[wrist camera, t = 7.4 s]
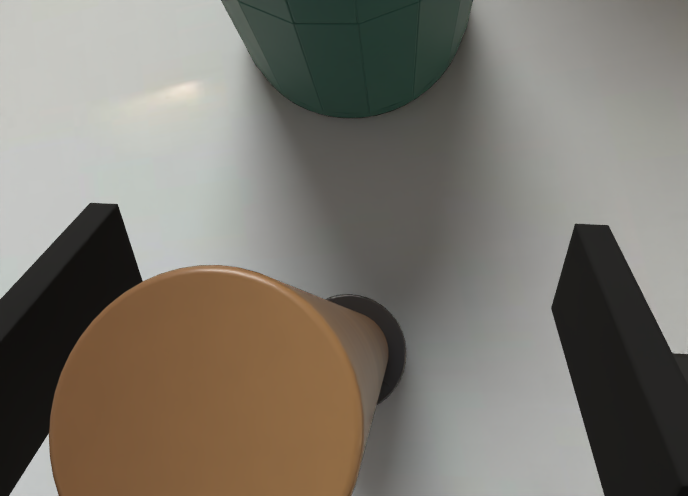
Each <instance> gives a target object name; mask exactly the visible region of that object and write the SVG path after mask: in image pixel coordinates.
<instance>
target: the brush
mask: <svg viewBox="0 0 688 496" xmlns="http://www.w3.org/2000/svg"><path fill="white" fill-rule="evenodd" d="M405 363H406V345H405V340H404V336H403V333H402V331H401V328H400V326H399V324H398V323H397V321H396V319H395V318H394V317H393V316H392V314H391V313H390V312H389V311H388V310H387V309H386V308H384V307H383V306H382V305H381V304H379V303H377V302H376V301H374V300H372V299H369V298H367V297H363V296H360V295H352V294H343V295H336V296H333V297H329V298H327V299H323V298H320V297H318V296H315V295H313V294H310V293H308V292H305V291H303V290H300V289H298V288H295V287H293V286H290V285H288V284H285V283H283V282H280V281H278V280H275V279H273V278H270V277H268V276H265V275H263V274H260V273H257V272H254V271H250V270H246V269H242V268H238V267H230V266H222V265H199V266H192V267H185V268H179V269H175V270H172V271H168V272H165V273H161V274H159V275H157V276H154V277H152V278H150V279H147V280H145V281H143V282H141V283H139V284H138V285H136V286H134V287H133V288H131V289H129V290H127V291H126V292H124V293H123V294H122V295H121V296H119V297H118V298H117V299H115V300H114V301H113V302H112V303H110V304H109V305H108V306H107V307H106V308H105V309H104V310H103V311H102V312H101V313H100V314H99V315H98V316H97V317H96V318H95V319H94V320H93V321H92V322H91V324H90V325H89V326H88V327H87V329H86V330H85V331H84V333H83V334H82V335H81V336H80V338H79V340H78V341H77V343H76V345H75V346H74V348H73V349H72V351H71V353H70V355H69V357H68V359H67V361H66V363H65V365H64V368H63V370H62V372H61V375H60V378H59V381H58V384H57V387H56V390H55V394H54V399H53V404H52V409H51V415H50V428H49V446H50V459H51V466H52V472H53V477H54V481H55V484H56V488H57V491H58V494H59V496H351V495H352V493H353V490H354V488H355V485H356V482H357V478H358V474H359V470H360V466H361V462H362V459H363V455H364V451H365V447H366V443H367V439H368V436H369V432H370V428H371V424H372V420H373V416H374V412H375V409H376V405H378V404H379V403H381V402H382V401H384V400H385V399H386V398H387V397H388V396H389V395H390V394H391V393H392V392H393V391H394V389H395V388H396V387H397V385H398V383H399V381H400V379H401V377H402V374H403V372H404V368H405Z"/></svg>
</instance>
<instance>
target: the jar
mask: <svg viewBox="0 0 688 496" xmlns="http://www.w3.org/2000/svg"><path fill="white" fill-rule="evenodd" d="M221 1H222V3H223V5H224V7H225V9H226V10H227V12H228V14H229V16H230V18H231V20H232V22H233V24H234V25H235V27H236V29H237V31H238V33H239V35H240V37H241V39H242V40H243V42H244V44H245V46H246V48H247V50H248V52H249V53H250V55H251V57H252V59H253V61H254V63H255V64H256V66H257V67H258V68H259V69H260V70H261V71H262V73H263V74H264V76H265V77H266V78H267V80H268V81H269V82H270V83H271V85H272V86H273V87H274V88H276V89H277V90H278V91H279V92H280V93H281V94H282V95H283V96H285V97H286V98H288V99H289V100H290V101H292V102H293V103H295V104H297V105H299V106H301V107H303V108H305V109H307V110H310V111H313V112H316V113H318V114H323V115H327V116H332V117H342V118H361V117H368V116H374V115H379V114H382V113H386V112H389V111H392V110H394V109H397V108H399V107H401V106H404V105H406V104H407V103H409V102H411V101H412V100H414V99H416V98H417V97H419V96H420V95H421V94H423V93H424V92H425V91H427V90H428V89H429V88H430V87H431V86H432V85H433V84H434V83H435V82H436V81H437V80H438V79H439V78H440V77H441V76H442V74H443V73H444V72H445V70H446V69H447V68H448V67H449V65H450V63H451V61H452V60H453V58H454V56H455V54H456V52H457V50H458V47H459V45H460V42H461V39H462V36H463V34H464V32H465V30H466V27H467V23H468V19H469V15H470V10H471V6H472V2H473V0H221Z"/></svg>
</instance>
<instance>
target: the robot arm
mask: <svg viewBox="0 0 688 496" xmlns="http://www.w3.org/2000/svg"><path fill="white" fill-rule="evenodd" d="M141 282H143V281H142V278H141V275H140V272H139V269H138V266H137V263H136V260H135V256H134V253H133V250H132V247H131V244H130V241H129V238H128V235H127V232H126V229H125V225H124V222H123V219H122V216H121V213H120V210H119V207H118V204H102V203H90V204H89V205H88V206H87V207H86V208H85V209H84V210H83V211H82V212H81V213H80V214H79V216H78V217H77V218H76V219H75V220H74V221H73V222H72V223H71V224H70V225H69V226H68V227H67V228H66V229H65V231H64V232H63V233H62V234H61V235H60V236H59V237H58V238H57V239H56V240H55V241H54V242H53V243H52V245H51V246H50V247H49V248H48V249H47V250H46V251H45V252H44V253H43V254H42V255H41V256H40V257H39V258H38V260H37V261H36V262H35V263H34V264H33V265H32V266H31V267H30V268H29V269H28V270H27V271H26V272H25V274H24V275H23V276H22V277H21V278H20V279H19V280H18V281H17V282H16V283H15V284H14V285H13V286H12V287H11V289H10V290H9V291H8V292H7V293H6V294H5V295H4V296H3V297H2V298H1V299H0V496H9V495H10V493H11V492H12V490H13V489H14V487H15V485H16V484H17V482H18V481H19V479H20V478H21V476H22V474H23V473H24V471H25V470H26V468H27V467H28V465H29V463H30V462H31V460H32V459H33V457H34V456H35V454H36V452H37V451H38V449H39V448H40V446H41V444H42V443H43V441H44V440H45V438H46V437H47V435H48V433H49V428H50V415H51V409H52V404H53V399H54V394H55V390H56V387H57V384H58V381H59V378H60V375H61V372H62V370H63V368H64V365H65V363H66V361H67V359H68V357H69V355H70V353H71V351H72V349H73V348H74V346H75V345H76V343H77V341H78V340H79V338H80V336H81V335H82V334H83V333H84V331H85V330H86V329H87V327H88V326H89V325H90V324H91V322H92V321H93V320H94V319H95V318H96V317H97V316H98V315H99V314H100V313H101V312H102V311H103V310H104V309H105V308H106V307H107V306H108V305H109V304H110V303H112V302H113V301H114V300H115V299H117V298H118V297H119V296H121V295H122V294H123V293H124V292H126V291H127V290H129V289H131V288H133V287H134V286H136V285H138V284H139V283H141ZM551 309H552V313H553V316H554V320H555V323H556V327H557V330H558V334H559V337H560V341H561V344H562V348H563V351H564V355H565V358H566V362H567V365H568V369H569V372H570V376H571V379H572V383H573V386H574V390H575V393H576V397H577V400H578V404H579V407H580V411H581V415H582V418H583V422H584V425H585V429H586V432H587V436H588V439H589V443H590V446H591V450H592V453H593V457H594V460H595V464H596V467H597V471H598V474H599V478H600V481H601V485H602V488H603V492H604V495H605V496H688V354H674V353H672V352H671V350H670V348H669V346H668V344H667V342H666V340H665V338H664V336H663V334H662V332H661V330H660V328H659V326H658V324H657V322H656V320H655V318H654V316H653V314H652V312H651V310H650V308H649V306H648V304H647V302H646V300H645V298H644V296H643V294H642V292H641V290H640V288H639V286H638V284H637V282H636V280H635V278H634V276H633V274H632V272H631V270H630V268H629V266H628V264H627V262H626V260H625V258H624V256H623V254H622V252H621V250H620V248H619V246H618V244H617V242H616V240H615V238H614V236H613V234H612V232H611V230H610V228H609V226H608V225H590V224H575V226H574V230H573V233H572V237H571V240H570V244H569V247H568V251H567V254H566V258H565V261H564V265H563V268H562V272H561V276H560V279H559V283H558V286H557V290H556V293H555V297H554V300H553V304H552V307H551Z"/></svg>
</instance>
